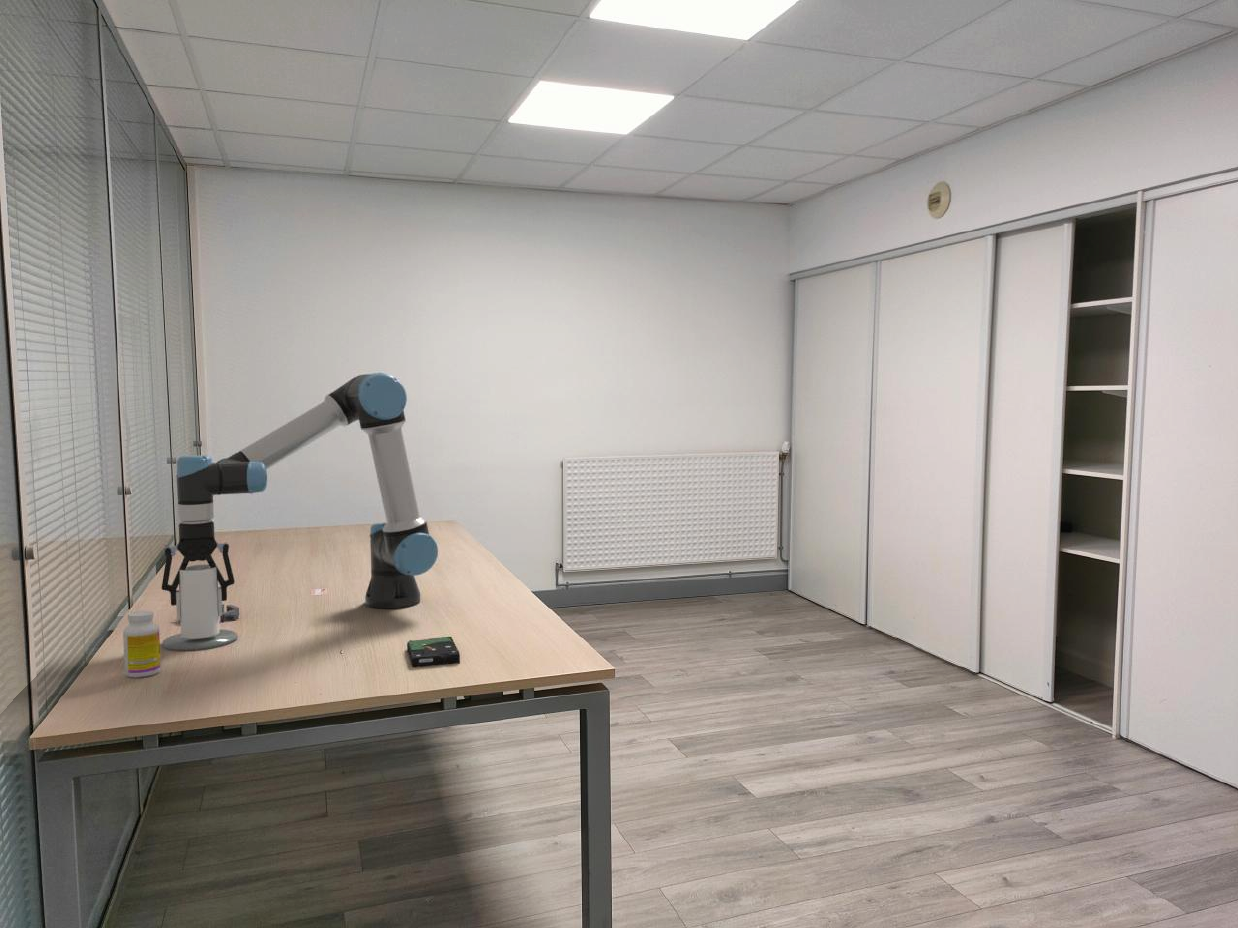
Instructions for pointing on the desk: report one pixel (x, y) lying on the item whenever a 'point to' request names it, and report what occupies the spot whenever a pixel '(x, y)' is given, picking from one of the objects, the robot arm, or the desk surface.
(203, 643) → the coaster
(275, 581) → the desk surface
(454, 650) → the disk drive
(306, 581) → the desk surface
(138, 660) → the supplement bottle
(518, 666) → the desk surface
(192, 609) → the cup
